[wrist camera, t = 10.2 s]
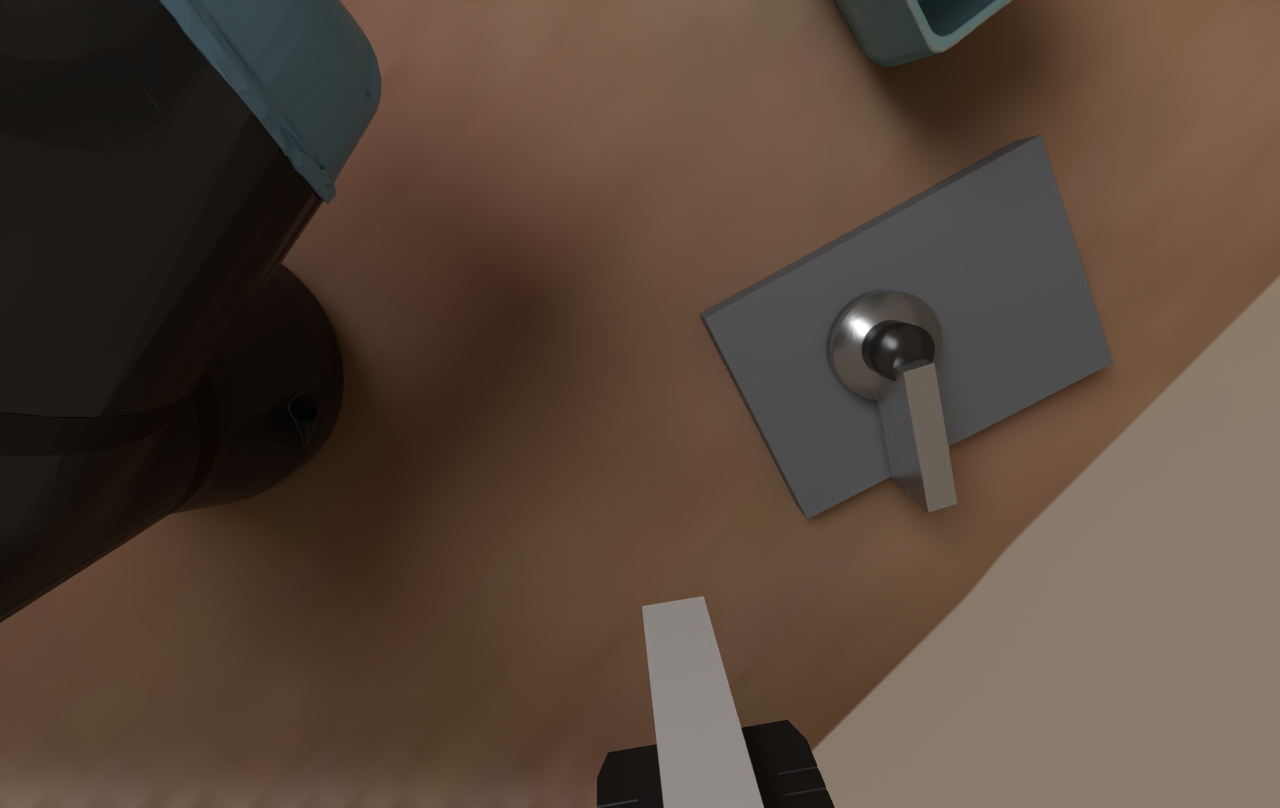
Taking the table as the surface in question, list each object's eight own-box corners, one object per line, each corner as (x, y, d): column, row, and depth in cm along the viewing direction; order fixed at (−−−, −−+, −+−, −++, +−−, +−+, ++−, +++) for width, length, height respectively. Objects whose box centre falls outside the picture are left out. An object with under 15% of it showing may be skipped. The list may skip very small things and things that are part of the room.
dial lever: (816, 308, 33) (847, 317, 29) (921, 276, 33) (967, 280, 29) (855, 491, 36) (888, 524, 32) (951, 463, 36) (997, 491, 32)
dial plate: (699, 314, 35) (705, 319, 33) (1015, 140, 33) (1043, 134, 31) (797, 505, 39) (808, 521, 36) (1086, 356, 37) (1116, 363, 35)
